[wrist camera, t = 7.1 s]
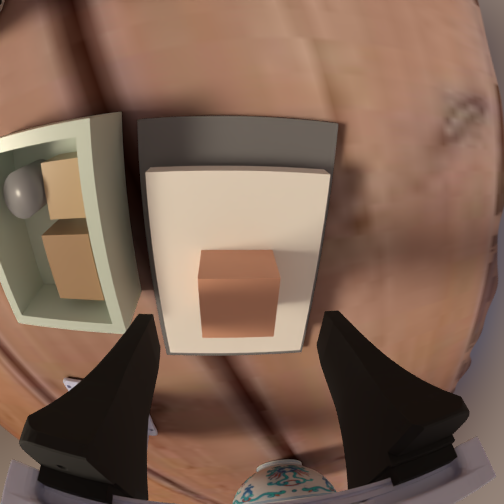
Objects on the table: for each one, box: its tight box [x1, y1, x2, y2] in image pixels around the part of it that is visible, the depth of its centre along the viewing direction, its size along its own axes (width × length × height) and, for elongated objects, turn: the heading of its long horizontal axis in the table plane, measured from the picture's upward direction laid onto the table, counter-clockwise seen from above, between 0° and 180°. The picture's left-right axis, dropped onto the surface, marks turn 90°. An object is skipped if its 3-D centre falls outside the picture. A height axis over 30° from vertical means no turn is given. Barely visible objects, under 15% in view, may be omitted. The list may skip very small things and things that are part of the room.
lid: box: [145, 166, 330, 353], centre depth 15 cm, size 11×8×4 cm
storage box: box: [0, 112, 142, 334], centre depth 13 cm, size 11×8×4 cm
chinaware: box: [233, 459, 336, 504], centre depth 32 cm, size 15×15×8 cm
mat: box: [137, 116, 338, 355], centre depth 17 cm, size 16×10×1 cm, turn 178°
